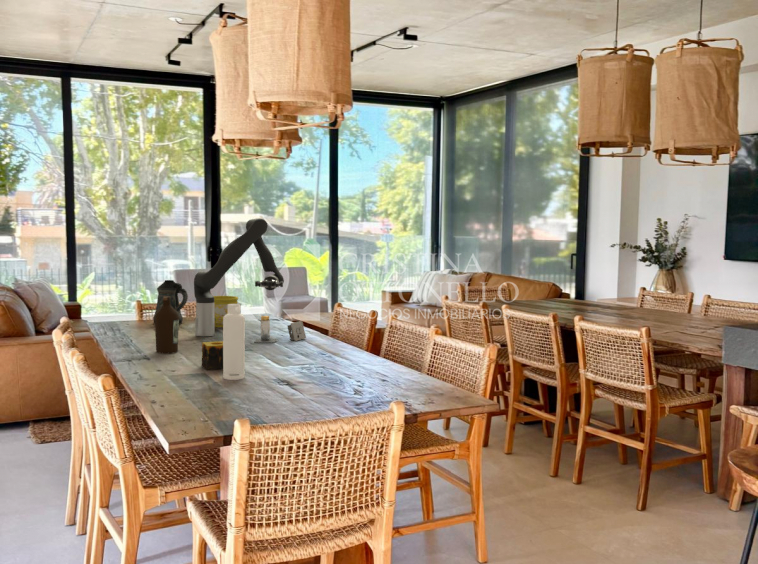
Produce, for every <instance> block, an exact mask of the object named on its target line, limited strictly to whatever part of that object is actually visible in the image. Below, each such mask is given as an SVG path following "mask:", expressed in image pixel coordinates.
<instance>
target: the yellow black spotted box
mask: <svg viewBox="0 0 758 564" xmlns="http://www.w3.org/2000/svg"><path fill="white" fill-rule="evenodd" d="M201 367H202V368H203V369H205V370H206V371H217V370H223V340H220V341H203V342H202V343H201Z"/></svg>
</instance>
